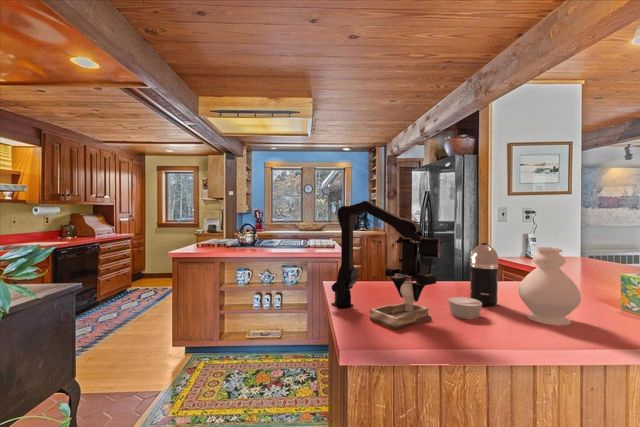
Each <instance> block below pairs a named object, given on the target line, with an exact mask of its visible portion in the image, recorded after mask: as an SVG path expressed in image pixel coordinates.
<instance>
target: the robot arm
mask: <svg viewBox="0 0 640 427" xmlns="http://www.w3.org/2000/svg"><path fill="white" fill-rule="evenodd" d="M365 213H367V214H368V215H371V216H372V217H374V218H377V219H378V220H380V221H382V222H383V223H386V224H387V225H389V226H391V227H392V228H393V229H394V231H396V232H397V233H399V234H400V235H401V236H399V237H398V239H397V240H395V243H396V244H401V246H400V247H401V249H400V250H401V255H400V258H398V262H400V263H401V264H400V265H401V266H400V267H397V266H393V267H387V268H386V269H385V271H384V274H385V275H384V276H385V277H390V280H391V281H392V283H393V284H394V285H395V288H396V290H397V292H398V294H399V297H400V298H401V299H404V298H403V296H402V295H401V292H400V287H401V285H402V284H403V283H404V282H406V280H407V279H410V280H415V282H414V283H412V287H413V295H414V303H417V302H418V301H419V299H420V296H421V294H422V291H423V289H425V288H424V287H426V286H429V285H434V284H437V277H436V276H435V274H430V273H429V268H430V266H428V265H426V264H425V263H421V262H422V260H421V259H420V258H419V255H420V256H421V257H422V258H428V259H431V258H432V259H440V258H441V256H442V255H441V254H442V247H441V242H440V238H437V237H436V238H427V237H425V235H424V234H423V233H422V232H421V228H420V224H419V222H416V221H414V220H411V219H408V218H405V217H402V216H401V217H400V216H398V215H396V214H393V213H392V212H390V211H388V210H386V209H384V208H382V207H380V206H378V205H376V204H375V203H373V202H372V201H370V200H363V201H361V202H359V203H354V204H351V205H342V206H340V207H339V208H338V209H337V213H336V214H337V221H338V224H339V226H340V228H341V229H340V230H341V232H340V233H341V234H340V235H341V236H340V237H341V241H340V244H341V248H340V249H341V250H340V251H341V254H340V255H341V257H340V260H341V261H340V262H341V263H340V266H339V270H338V272H337V278H336V281H335V282H334V283H333V284H332V285H331V290H332V292H334V302H331V305H333V306H335V307H336V308H340V309H345V308H349V307H354V303H352V295H351V289H353V286H354V285H355V284H357V281H358V279H359V268H355V266H354V265H355V264H354V228H355V225H356V222H357V217H358V216H361V215H363V214H365Z"/></svg>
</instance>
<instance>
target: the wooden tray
mask: <svg viewBox="0 0 640 427" xmlns="http://www.w3.org/2000/svg"><path fill="white" fill-rule="evenodd" d="M405 309H406V308H405V302H401V303H397V304H386V305H383V306H382V305H381V306H379V307H374V308H370V309H369V320H371V321H373V322H376V323H379V324H381V325H383V326H386V327H388V328H390V329H393V330H395V331H397V330H401V329H403V328H407V327H409V326H413V325H416V324H420V323H423V322H426V321H431V320H432V315H429V307H425V306H422V305H419V304H415V303H413V311H411V312H407V311H406V310H405Z"/></svg>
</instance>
